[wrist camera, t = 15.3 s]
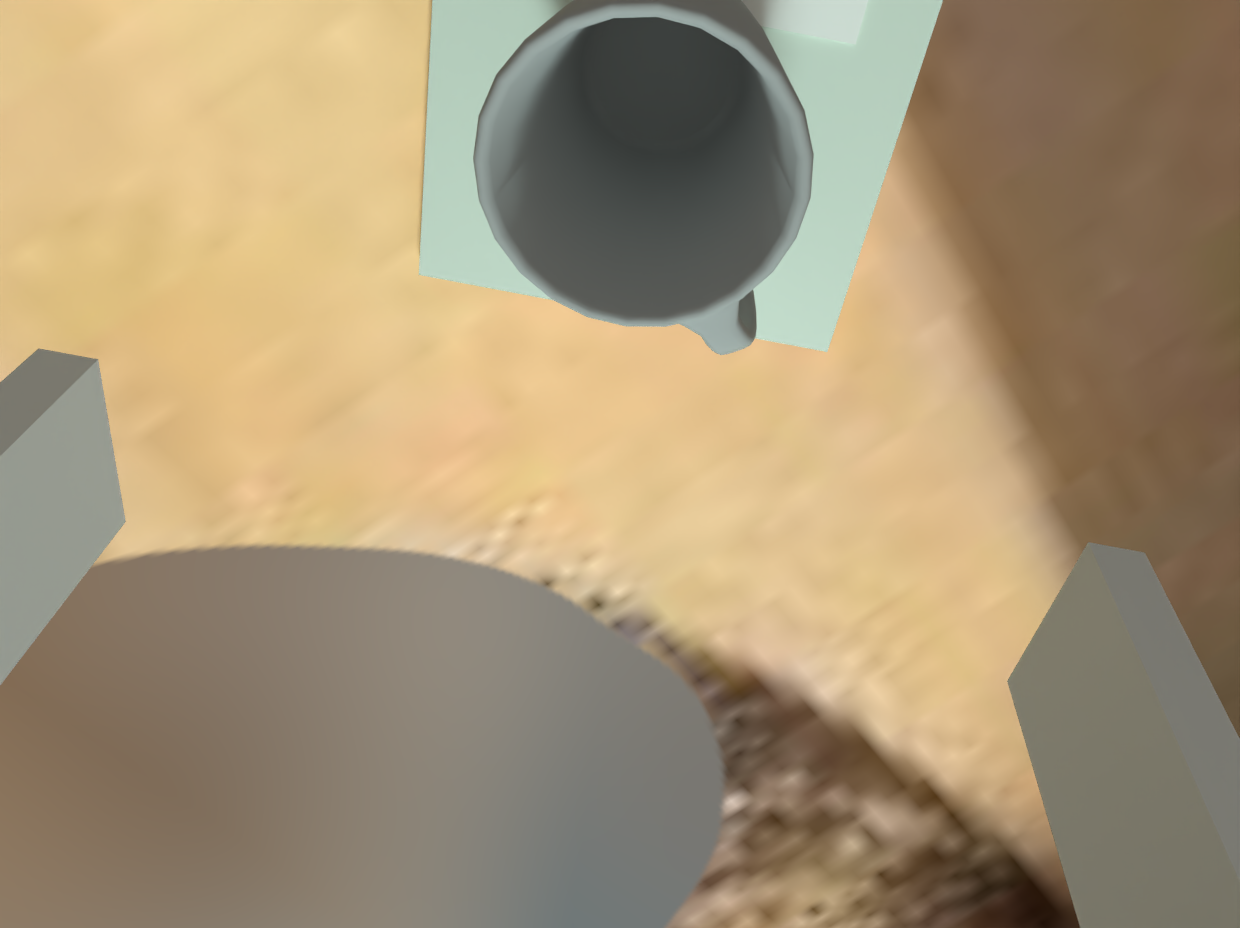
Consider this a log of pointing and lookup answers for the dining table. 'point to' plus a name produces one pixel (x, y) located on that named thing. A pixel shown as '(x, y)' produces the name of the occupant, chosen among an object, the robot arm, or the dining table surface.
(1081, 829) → the robot arm
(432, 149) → the pad green
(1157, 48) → the dining table surface
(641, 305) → the cup
